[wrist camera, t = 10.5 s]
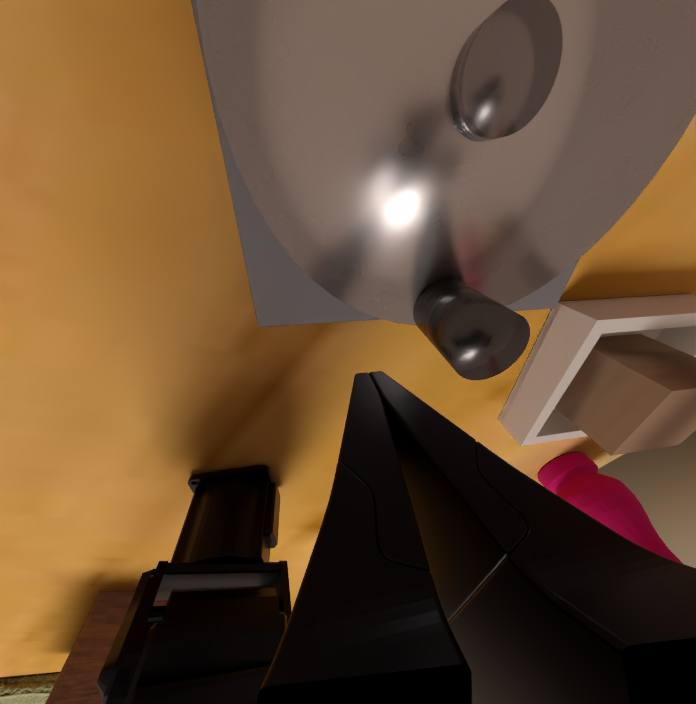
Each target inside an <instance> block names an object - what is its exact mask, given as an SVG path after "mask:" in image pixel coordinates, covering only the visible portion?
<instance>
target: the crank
mask: <svg viewBox="0 0 696 704" xmlns="http://www.w3.org/2000/svg"><path fill="white" fill-rule="evenodd" d="M196 4H197V10H198V17H199V23H200V29H201V36H202V42H203V49H204V55H205V61H206V65H207V69H208V73H209V77H210V81H211V85H212V89H213V93H214V97H215V101H216V105H217V109H218V113H219V117H220V120H221V123H222V126H223V129H224V131H225V134H226V137H227V140H228V143H229V146H230V148H231V151H232V154H233V157H234V160H235V163H236V165H237V167H238V169H239V171H240V174H241V176H242V178H243V180H244V182H245V184H246V186H247V188H248V191H249V193H250V195H251V197H252V199H253V201H254V203H255V205H256V206H257V208H258V210H259V211H260V213H261V215H262V216H263V218H264V220H265V221H266V223H267V225H268V226H269V228H270V230H271V231H272V233H273V234H274V236H275V237H276V238H277V240H278V241H279V242H280V243H281V245H282V246H283V247H284V249H285V250H286V251H287V253H288V254H289V255H290V256H291V258H292V259H293V260H294V261H295V262H296V263H297V264H298V265H299V266H300V267H301V268H302V269H303V270H304V271H305V272H306V273H307V274H308V275H309V276H310V277H311V278H312V279H313V280H314V281H315V282H316V283H317V284H319V285H320V286H321V287H323V288H324V289H325V290H326V291H328V292H329V293H330V294H331V295H333V296H334V297H336V298H337V299H339V300H341V301H343V302H344V303H346V304H348V305H349V306H351V307H353V308H354V309H357V310H359V311H362V312H364V313H366V314H369V315H371V316H374V317H377V318H380V319H384V320H388V321H392V322H396V323H403V324H411V325H417V326H418V328H419V329H420V330H421V331H422V332H423V333H424V335H425V336H426V337H427V338H428V339H429V340H430V342H431V343H432V344H433V345H434V346H435V347H436V349H437V350H438V351H439V352H440V353H441V354H442V356H443V357H444V358H445V359H446V360H447V361H448V363H449V364H450V365H451V366H452V367H453V368H454V369H455V371H456V372H457V373H458V374H459V375H460V376H462V377H463V378H466V379H469V380H482V379H487V378H490V377H493V376H495V375H497V374H499V373H501V372H503V371H504V370H506V369H507V368H508V367H510V366H511V365H512V364H513V363H514V362H515V361H516V360H517V359H518V358H519V357H520V356H521V354H522V353H523V351H524V350H525V348H526V346H527V343H528V341H529V337H530V328H529V324H528V322H527V321H526V319H525V318H524V317H523V316H521V315H519V314H517V313H516V312H514V311H512V310H510V309H509V308H507V307H506V306H508V305H510V304H512V303H514V302H516V301H519V300H521V299H522V298H524V297H526V296H527V295H529V294H531V293H532V292H534V291H536V290H537V289H539V288H541V287H542V286H544V285H545V284H547V283H548V282H549V281H551V280H552V279H554V278H555V277H556V276H558V275H559V274H561V273H562V272H563V271H565V270H566V269H567V268H568V267H570V266H571V265H572V264H573V263H574V262H575V261H577V260H578V259H579V258H580V257H581V256H583V255H584V254H585V253H586V252H587V251H588V250H589V249H590V248H591V247H592V246H593V245H594V244H595V243H597V242H598V241H599V240H600V239H601V238H602V237H603V236H604V235H605V234H606V233H607V232H608V231H609V230H610V229H611V228H612V226H613V225H614V224H615V223H616V222H617V221H618V220H619V219H620V218H621V216H622V215H623V214H624V213H625V212H626V211H627V210H628V209H629V207H630V206H631V205H632V204H633V203H634V202H635V200H636V199H637V198H638V196H639V195H640V194H641V193H642V191H643V190H644V189H645V188H646V186H647V185H648V184H649V182H650V181H651V180H652V179H653V177H654V176H655V175H656V173H657V172H658V171H659V169H660V168H661V166H662V165H663V163H664V162H665V160H666V159H667V157H668V156H669V155H670V153H671V152H672V150H673V149H674V147H675V146H676V144H677V143H678V142H679V140H680V138H681V137H682V135H683V133H684V132H685V130H686V129H687V127H688V125H689V124H690V122H691V120H692V119H693V117H694V115H695V114H696V0H196Z"/></svg>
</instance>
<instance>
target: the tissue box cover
mask: <svg viewBox="0 0 696 704" xmlns="http://www.w3.org/2000/svg"><path fill="white" fill-rule="evenodd" d="M134 594H135V591H100V593H99V595H98V597H97V599H96V601H95V603H94V605H93V607H92V609H91V611H90V613H89V615H88V617H87V619H86V622H85V624H84V626H83V628H82V630H81V632H80V634H79V636H78V638H77V640H76V642H75V644H74V646H73V648H72V650H71V652H70V654H69V656H68V658H67V660H66V662H65V664H64V666H63V668H62V670H61V672H60V674H59V676H58V678H57V680H56V682H55V684H54V686H53V688H52V690H51V692H50V695H49V697H48V699H47V701H46V703H45V704H101V701H102V696H101V694H100V691H99V689H98V687H97V684H96V683H97V680H98V677H99V675H100V672H101V670H102V668H103V665H104V663H105V661H106V658H107V656H108V654H109V652H110V649H111V647H112V645H113V642H114V640H115V638H116V636H117V633H118V631H119V629H120V626H121V624H122V622H123V620H124V617H125V615H126V613H127V610H128V608H129V606H130V603H131V601H132V598H133V596H134ZM167 601H168V600H155V601H154V604H153V606H166V603H167Z"/></svg>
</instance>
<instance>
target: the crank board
mask: <svg viewBox="0 0 696 704" xmlns="http://www.w3.org/2000/svg"><path fill="white" fill-rule="evenodd" d="M191 2H192V7H193V12H194V17H195V22H196V26H197V31H198V36H199V41H200V46H201V51H202V55H203V60H204V65H205V70H206V75H207V80H208V85H209V89H210V94H211V99H212V104H213V109H214V114H215V118H216V123H217V128H218V133H219V138H220V143H221V147H222V152H223V157H224V162H225V167H226V172H227V177H228V181H229V186H230V191H231V196H232V201H233V206H234V210H235V215H236V220H237V225H238V230H239V235H240V240H241V244H242V249H243V254H244V259H245V264H246V269H247V273H248V278H249V283H250V288H251V293H252V298H253V302H254V307H255V312H256V317H257V322H258V327H269V326H285V325H300V324H316V323H332V322H347V321H363V320H379V319H380V318H377V317H374V316H371V315H369V314H366V313H364V312H362V311H359V310H357V309H354V308H353V307H351V306H349V305H348V304H346V303H344V302H343V301H341V300H339V299H337V298H336V297H334V296H333V295H331V294H330V293H329V292H328V291H326V290H325V289H324V288H323V287H321V286H320V285H319V284H317V283H316V282H315V281H314V280H313V279H312V278H311V277H310V276H309V275H308V274H307V273H306V272H305V271H304V270H303V269H302V268H301V267H300V266H299V265H298V264H297V263H296V262H295V261H294V260H293V259H292V258H291V256H290V255H289V254H288V253H287V251H286V250H285V249H284V247H283V246H282V245H281V243H280V242H279V241H278V240H277V238H276V237H275V236H274V234H273V233H272V231H271V230H270V228H269V226H268V225H267V223H266V221H265V220H264V218H263V216H262V215H261V213H260V211H259V210H258V208H257V206H256V205H255V203H254V201H253V199H252V197H251V195H250V193H249V191H248V188H247V186H246V184H245V182H244V180H243V178H242V176H241V174H240V171H239V169H238V167H237V165H236V163H235V160H234V157H233V154H232V151H231V148H230V146H229V143H228V140H227V137H226V134H225V131H224V129H223V126H222V123H221V120H220V117H219V113H218V109H217V105H216V101H215V97H214V93H213V89H212V85H211V81H210V77H209V73H208V69H207V65H206V61H205V55H204V49H203V42H202V36H201V29H200V23H199V17H198V10H197V4H196V0H191ZM579 259H580V258H579ZM579 259H578V260H577V261H575V262H574V263H573V264H572V265H571V266H570V267H568V268H567V269H566V270H565V271H563V272H562V273H561V274H559V275H558V276H556V277H555V278H554V279H552V280H551V281H549V282H548V283H547V284H545V285H544V286H542V287H541V288H539V289H537V290H536V291H534V292H532V293H531V294H529V295H527V296H526V297H524V298H522V299H521V300H519V301H516V302H514V303H512V304H510V305H508V306H506V307H507V308H509V309H510V310H512V311H519V310H535V309H551V308H555V307H556V305H557V303H558V301H559V299H560V297H561V295H562V293H563V291H564V289H565V287H566V285H567V283H568V281H569V279H570V277H571V275H572V273H573V271H574V269H575V267H576V265H577V263H578V261H579Z"/></svg>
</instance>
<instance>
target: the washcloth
mask: <svg viewBox="0 0 696 704" xmlns="http://www.w3.org/2000/svg"><path fill="white" fill-rule="evenodd" d="M59 674H60V672H57V673H49V674H41V675H32V676H24V677H12V678H1V679H0V704H45V703H46V701H47V699H48V697H49V695H50V692H51V690H52V688H53V686H54V684H55V682H56V680H57V678H58V676H59Z"/></svg>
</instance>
